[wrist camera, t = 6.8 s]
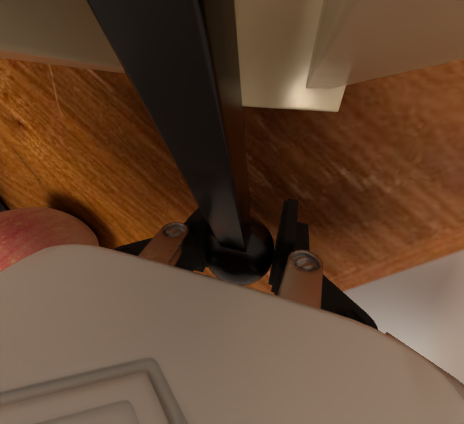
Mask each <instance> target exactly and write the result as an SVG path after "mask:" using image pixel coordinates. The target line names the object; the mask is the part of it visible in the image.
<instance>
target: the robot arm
mask: <svg viewBox="0 0 464 424" xmlns="http://www.w3.org/2000/svg"><path fill="white" fill-rule="evenodd" d="M297 209H298V200H293V199H288V201H284V204H283V209H282V214H281V219H280V224H279V229H278V234H277V239H276V244H275V250H274V259H273V262H272V266H271V272H270V278H269V283H268V284H270V285H272V290H271V292H274V293H275V295H272V294H269V293H266V292H262V291H259V290H255V289H252V288H248V287H245V286H241V285H238V284H235V283H231V282H228V281H224V280H221V279H217V278H214V277H210V276H207V275H203V274H199V273H196V272H193V271H194V270H196V271H200V272H203V271H204V269H205V267H208V265H207V263H206V259H205V255H204V245H205V240H206V237H207V234H208V232H209V231H210V229H211V228H210V226H209V225H208V223H207V221H206V219H205V217H204V215H203V214H202V212H201V210H200V208H198V209H197V210H196V211H195V212H194V213H193V214H192V215H191V216H190V217H189V218H188V219H187V221H186V222H185V223H180V222H174V223H169V224H166V225H165V226H163V227H162V228H161V229H160V230H159V231H158V233H157V234H156V235H155V236H154V237H153V238H150V239H146V240H142V241H138V242H134V243H131V244H127V245H123V246H120V247H117V248H115V249H113V250H112V249H107V248H103V247H99V246H92V245H81V244H69V245H58V246H52V247H48V248H45V249H42V250H40V251H38V252H36V253H34V254H32V255H30V256H28V257H26V258H24V259H22V260H20V261H18V262H17V263H15V264H13V265H11V266H9V267H8V268H6V269H4V270H3V271H1V272H0V424H464V385H463V384H462V383H461V382H460V381H458V380H457V379H456V378H454V377H453V376H451V375H450V374H449V373H447V372H446V371H444V370H443V369H441V368H440V367H438V366H437V365H435V364H434V363H432V362H431V361H429V360H428V359H426V358H425V357H423V356H422V355H420V354H419V353H417V352H416V351H414V350H413V349H411V348H410V347H408V346H407V345H405V344H404V343H402V342H401V341H400V340H398V339H396V338H395V337H394V336H392V335H391V334H389V333H386V334H384V333H382V332H380V331H379V330H378V328H377V326H376V324H375V322H374V321H373V320H372V318H371V317H370V316H369V315H368V314H367V313H366V312H365V311H364V310H362V309H361V308H360V307H359V306H358V305H357V304H356V303H354V302H353V301H352V300H351V299H350V298H349V297H348V296H347V295H346V294H344V293H343V292H342V291H341V290H340V289H339V288H338V287H336V286H335V285H334V284H333V283H332V282H331V281H330V280H329V279H327V278H326V277H325V276H324V275H323V263H322V261H321V259H320V258H319V257H318V256H317V255H315V254H314V253H312V252H310V251H309V230H308V224H305V223H300V222H297Z"/></svg>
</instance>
